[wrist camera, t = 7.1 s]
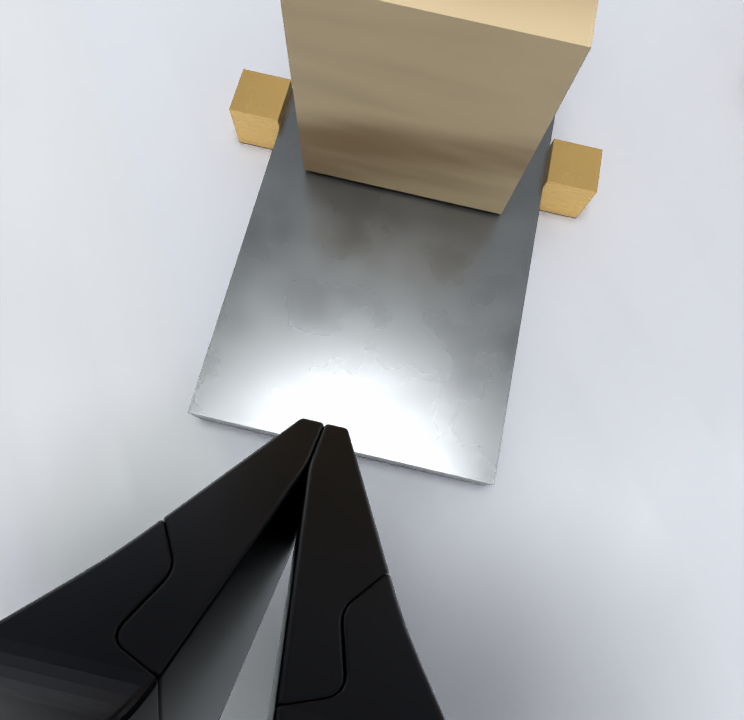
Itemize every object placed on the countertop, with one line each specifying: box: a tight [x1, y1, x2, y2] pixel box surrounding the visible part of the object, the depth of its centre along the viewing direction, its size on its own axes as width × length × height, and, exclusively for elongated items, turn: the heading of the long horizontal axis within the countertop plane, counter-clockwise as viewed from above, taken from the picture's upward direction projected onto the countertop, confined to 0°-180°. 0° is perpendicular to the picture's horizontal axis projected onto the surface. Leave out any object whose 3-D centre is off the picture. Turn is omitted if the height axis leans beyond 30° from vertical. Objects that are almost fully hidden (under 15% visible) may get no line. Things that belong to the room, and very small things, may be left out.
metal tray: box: [188, 69, 602, 485], centre depth 21 cm, size 22×15×4 cm
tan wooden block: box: [281, 0, 598, 214], centre depth 18 cm, size 6×8×8 cm
